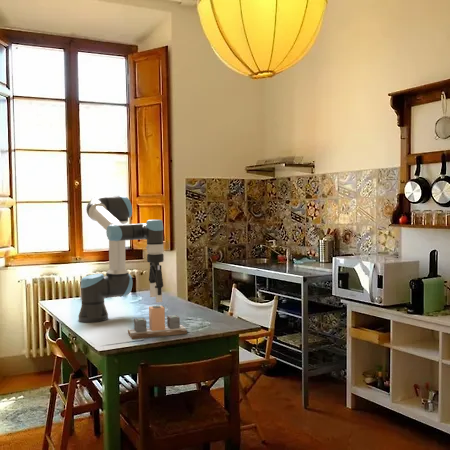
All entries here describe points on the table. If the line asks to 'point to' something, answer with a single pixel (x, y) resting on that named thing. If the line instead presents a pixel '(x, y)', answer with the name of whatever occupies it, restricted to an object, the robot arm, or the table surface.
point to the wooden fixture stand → (170, 329)
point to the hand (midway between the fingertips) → (156, 299)
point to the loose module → (157, 318)
